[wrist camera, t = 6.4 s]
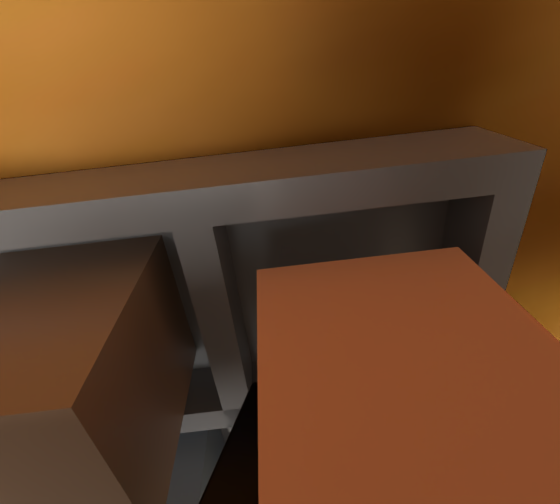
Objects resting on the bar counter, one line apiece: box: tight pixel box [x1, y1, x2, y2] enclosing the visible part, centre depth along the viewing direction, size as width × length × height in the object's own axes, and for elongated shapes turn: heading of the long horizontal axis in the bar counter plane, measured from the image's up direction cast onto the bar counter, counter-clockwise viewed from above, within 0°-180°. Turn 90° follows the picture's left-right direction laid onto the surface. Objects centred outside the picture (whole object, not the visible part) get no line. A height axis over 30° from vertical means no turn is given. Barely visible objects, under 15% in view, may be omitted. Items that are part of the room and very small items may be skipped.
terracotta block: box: [257, 247, 560, 504], centre depth 7 cm, size 5×5×6 cm
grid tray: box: [0, 126, 547, 504], centre depth 12 cm, size 17×17×7 cm
